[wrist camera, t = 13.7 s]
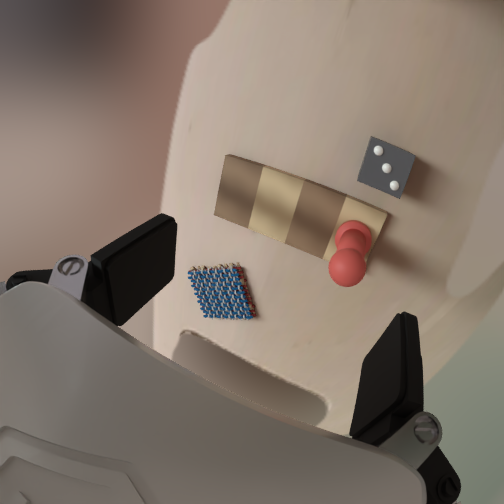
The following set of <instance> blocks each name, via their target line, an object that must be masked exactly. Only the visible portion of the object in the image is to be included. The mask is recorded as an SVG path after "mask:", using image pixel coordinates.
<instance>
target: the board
mask: <svg viewBox="0 0 504 504" xmlns="http://www.w3.org/2000/svg"><path fill="white" fill-rule="evenodd" d="M214 215H215V216H218V217H221V218H223V219H226V220H228V221H231V222H233V223H236V224H238V225H241V226H243V227H246V228H248V229H251V230H253V231H256V232H258V233H261V234H263V235H266V236H268V237H271V238H273V239H276V240H278V241H280V242H283V243H285V244H288V245H290V246H293V247H295V248H298V249H300V250H302V251H305V252H307V253H310V254H312V255H314V256H317V257H319V258H322V259H324V260H326V261H329V262H330V259H331V257H332V256H333V255H334V254H335V253H336V250H337V247H336V245H335V235H336V233H337V230H338V228H339V227H340V225H341V224H343V223H344V222H346V221H349V220H358V221H361V222H363V223H364V224H365V225H366V226H367V227H368V228H369V230H370V232H371V236H372V242H371V247H370V249H369V251H368V252H367V253H366V254H365V257H364V259H365V262H366V261H367V259H368V257H369V255H370V252H371V250H372V248H373V246H374V244H375V242H376V239H377V237H378V235H379V233H380V230H381V228H382V226H383V224H384V221H385V219H386V217H387V211H385V210H382V209H380V208H378V207H376V206H373V205H371V204H369V203H366V202H364V201H361V200H359V199H357V198H354V197H352V196H349V195H347V194H344V193H342V192H339V191H337V190H334V189H331V188H329V187H326V186H324V185H321V184H318V183H316V182H313V181H310V180H307V179H305V178H302V177H299V176H296V175H293V174H290V173H287V172H285V171H282V170H279V169H276V168H273V167H270V166H266V165H263V164H260V163H257V162H254V161H251V160H247V159H244V158H241V157H237V156H234V155H231V154H228V155H225V160H224V165H223V170H222V175H221V180H220V185H219V191H218V196H217V201H216V207H215V212H214Z"/></svg>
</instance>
